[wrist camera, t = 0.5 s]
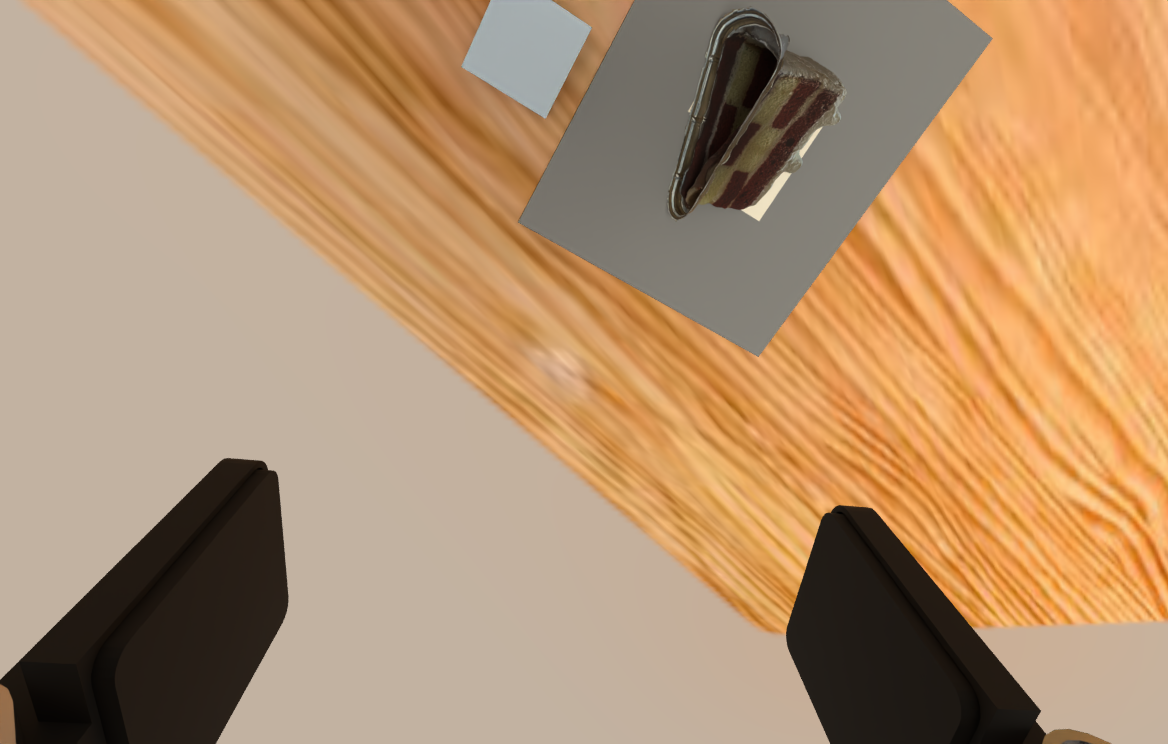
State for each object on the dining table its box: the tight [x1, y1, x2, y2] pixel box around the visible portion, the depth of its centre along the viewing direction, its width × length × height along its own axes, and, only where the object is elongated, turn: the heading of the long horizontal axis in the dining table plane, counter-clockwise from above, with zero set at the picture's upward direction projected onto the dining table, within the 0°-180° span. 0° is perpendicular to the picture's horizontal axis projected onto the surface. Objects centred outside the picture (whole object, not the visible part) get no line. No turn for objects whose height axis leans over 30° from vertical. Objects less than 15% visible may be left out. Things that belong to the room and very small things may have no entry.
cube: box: [461, 0, 592, 119], centre depth 33 cm, size 5×5×5 cm
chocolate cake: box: [667, 6, 847, 222], centre depth 36 cm, size 10×7×12 cm
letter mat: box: [518, 0, 993, 357], centre depth 38 cm, size 20×24×1 cm
